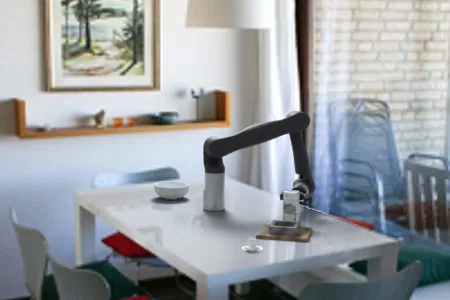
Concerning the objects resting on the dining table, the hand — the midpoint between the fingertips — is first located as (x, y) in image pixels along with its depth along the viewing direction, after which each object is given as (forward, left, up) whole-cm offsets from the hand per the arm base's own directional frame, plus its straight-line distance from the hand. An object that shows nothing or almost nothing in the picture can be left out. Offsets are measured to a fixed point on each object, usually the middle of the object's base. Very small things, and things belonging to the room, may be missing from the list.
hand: (294, 200), depth 313 cm
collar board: (0, -25, -9) cm, 27 cm away
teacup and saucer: (-11, -51, -9) cm, 52 cm away
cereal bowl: (-64, +27, -9) cm, 70 cm away
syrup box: (0, -9, -9) cm, 13 cm away
